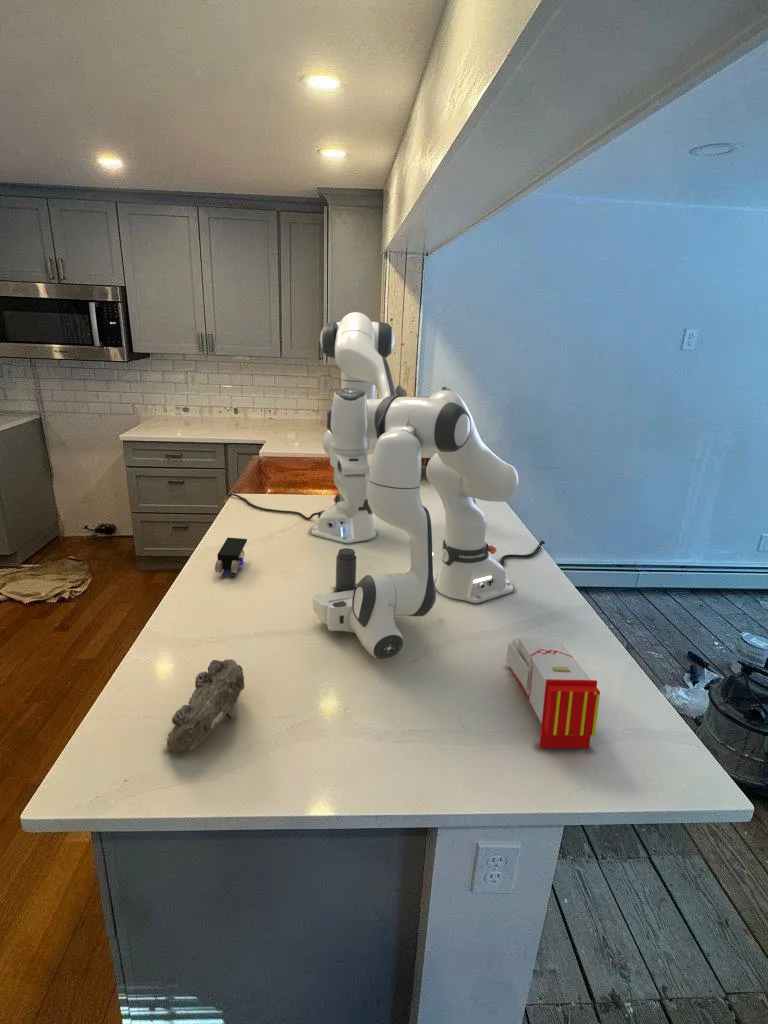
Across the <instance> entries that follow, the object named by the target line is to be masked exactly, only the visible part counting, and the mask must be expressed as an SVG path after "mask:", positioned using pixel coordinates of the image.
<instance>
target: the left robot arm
mask: <svg viewBox="0 0 768 1024" xmlns="http://www.w3.org/2000/svg"><path fill="white" fill-rule="evenodd" d="M395 340H396V339H395V334H394V330H393V328H392V326H391V325H390V323H388V322H384V321H378V322H377V321H371V319H370V318H369V316H367V315H366V314H364V313H362V312H360V311H359V312H357V311H353V312H350V313H347V314H346V315H345V316H343V317H342V319H341V320H340V321H335V320H333V321H330V322H326V324H324V325H323V326H322V330H321V332H320V335H319V343H320V347H321V349H322V353H323V354H324V355H325V356H326V357H328V358H332V359H335V363H336V365H337V368H339V369H340V370H341V372H340V389H337V390H335V392H334V394H333V398H332V402H331V403H330V404H329V405H328V406H327V408H326V414H327V415H326V417H327V418H326V429H327V430H326V431H325V432H324V435H323V437H322V447H323V450H324V452H325V454H326V455H327V456H328V457H329V465H330V466H331V467H333V483H334V485H335V487H336V488H337V490H338V492H337V494H336V495H335V496H334V497H333V502H334V504H333V505H331V506H329V507H328V508H326V509H323V510H321V511H317V512H313V513H311V515H310V516H309V517H308V516H307V517H306V516H305V515H304V514H303V513H302V512H299V511H294V510H283V509H281V510H280V509H273V508H266V507H262V506H258V505H256V504H253V503H251V502H250V501H248V499H246V498H245V497H242V495H240V494H239V495H238V494H237V493H229V494H228V495H227V496H226V497H227V498H230V497H233V496H234V497H236V498H239V499H240V500H242V501H244V502H245V503H246V504H247V505H249V506H251V507H253V508H255V509H258V510H262V511H267V512H273V513H282V514H283V513H285V514H295V515H299V516H301V518H303V519H304V520H307V521H308V520H309V521H310V520H311V519H312V518H313V517H314V516H317V519H318V521H317V523H315V524H314V525H313V526H312V528H311V530H310V533H311V536H315V537H319V538H323V539H326V540H330V541H336V542H339V543H343V544H352V543H357V542H365V541H368V540H372V539H373V538H375V537H376V535H377V532H376V528H375V523H374V513H373V512H372V510H371V509H370V507H369V504H368V499H367V490H368V481H369V472H370V465H369V460H368V456H370V455H373V453H374V450H375V446H376V443H377V440H378V435H377V432H376V429H375V423H374V418H375V412H376V409H377V407H378V405H379V404H380V403H381V402H382V400H383V399H384V398H386V397H389V396H395V395H396V392H395V390H396V388H395V384H394V380H393V379H394V378H393V375H392V372H391V368H390V365H389V362H388V360H387V358H388V357H389V356H390V355H391V354H392V352H393V349H394V347H395V342H396V341H395ZM376 388H377V390H376ZM377 392H378V398H377V395H376V394H377ZM340 501H345V502H346V504H347V509H346V515H341V514H338V513H337V512H336V504H337V503H338V502H340ZM356 507H358V513H357V514H355V515H354V511H355V508H356Z"/></svg>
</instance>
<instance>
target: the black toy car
mask: <svg viewBox="0 0 768 1024" xmlns="http://www.w3.org/2000/svg"><path fill="white" fill-rule="evenodd" d="M247 542H248V538H240V537H226V539H225V541H224V543H223V544H222V546H221V547H220V549H219V551H218V552H217V560H216V562H215V564H214V572H215V573H221V577H222V578H224V577H225V576H226V574H227V573H230V574H231V573H232V574H231V578H234V577H235V575H236V573H237V572H239V571H240V567H242V566H243V565H244V564H245V562H244V558H245V551H244V547H245V546H246V544H247Z"/></svg>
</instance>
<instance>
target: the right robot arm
mask: <svg viewBox="0 0 768 1024" xmlns="http://www.w3.org/2000/svg"><path fill="white" fill-rule="evenodd" d="M421 397H422V396H418V397H417V396H415V397H404V396H401V395H395V396H389V397H386V398H384V399H383V400H382V402H381V403H380V404H379V405H378V407H377V409H376V412H375V418H374V423H375V429H376V432H377V435H378V440H377V443H376V446H375V450H374V453H373V454H372V458H371V462H370V466H369V470H370V472H369V481H368V490H367V499H368V504H369V507H370V509H371V510H372V512H373V515H375V517H377V518H378V519H379V520H381V521H383V522H384V523H386V524H388V525H390V526H392V527H395V528H396V529H397V528H398V529H400V530H403V531H405V532H406V533H407V535H408V537H409V551H410V552H409V553H410V568H409V570H408V571H407V572H404V573H378V574H366V575H364V576H363V577H362V578H361V579H360V581H359V582H358V583H356V587H355V590H350V591H343V592H337V588H336V586H333V587H331V586H330V587H329V593H325V594H319V595H318V594H317V595H315V596H314V597H313V599H312V608H313V612H314V613H315V615H316V616H317V617H318V619H319V620H320V621H321V622H323V623H324V624H326V626H327V629H328V630H329V631H330V632H334V631H335V632H348V633H354V634H355V635H356V637H357V640H358V641H359V643H360V644H361V645H362V647H363V648H364V649H365V651H367V653H368V654H369V655H371V656H372V657H373V658H376V659H378V660H386V659H390V658H392V657H395V656H396V655H397V654H399V652H400V651H402V649H403V647H404V637H403V635H402V633H401V631H400V629H399V628H398V626H397V624H396V622H395V621H396V620H395V618H396V617H424V616H426V615H427V614H428V613H429V612H430V611H431V610H432V608H433V607H434V605H435V603H436V599H437V592H438V593H440V594H441V595H443V596H445V597H448V598H449V599H455V600H461V601H465V602H468V603H472V604H480V603H482V602H486V601H489V600H492V599H494V598H498V597H501V596H504V595H507V594H510V593H512V592H513V593H514V586H513V584H512V583H511V581H510V580H509V579H508V578H507V574H506V570H505V567H504V563H505V559H509V558H519V559H523V558H525V559H526V558H527V559H528V558H532V557H534V556H535V555H536V554H537V553H538V551H540V549H541V547H542V546H543V545H545V544H546V542H545V541H544V540H540V541H539V543H538V545H537V547H536V548H535V549H534V551H532V552H530V553H528V554H515V553H513V554H510V553H509V554H505V555H502V557H500V561H498V560H496V559H495V558H494V557H492V556H491V555H495V554H496V552H497V547H495V546H494V545H492V544H491V545H490V544H489V543H488V542H486V533H487V524H488V520H487V517H486V514H485V513H484V512H483V511H482V510H481V509H480V508H479V507H478V506H477V504H476V505H475V504H474V502H473V500H472V498H474V499H475V500H481V501H485V502H494V503H506V502H507V501H509V500H511V499H512V498H513V496H514V495H515V494H516V493H517V490H518V488H519V475H518V472H517V469H516V468H515V467H514V466H512V465H511V464H509V463H508V462H506V461H504V460H503V459H501V458H500V457H499V456H497V455H496V454H495V453H494V452H493V451H492V450H491V449H490V448H489V447H488V446H487V445H486V444H485V443H484V442H483V440H482V439H481V436H480V435H479V432H478V429H477V426H476V423H475V422H474V418H473V416H472V414H471V412H470V410H469V408H468V406H467V405H466V403H465V402H464V400H463V399H462V398H461V396H460V395H459V394H458V393H457V392H455V391H454V392H453V390H451V391H449V390H442V389H441V390H438V391H435V392H434V393H433V394H431V395H430V396H428V397H429V398H425V397H426V396H423V397H424V398H421ZM421 449H428V450H436V451H437V453H435V454H434V455H433V456H432V457H431V458H430V460H429V462H428V464H427V466H426V470H425V474H426V478H427V481H428V483H429V484H430V486H432V487H433V488H434V490H435V491H436V492H437V495H438V496H439V498H440V500H441V503H442V506H443V509H444V514H445V515H444V516H445V530H444V535H445V536H444V539H443V541H442V546H441V547H442V548H441V563H440V564H441V565H440V569H439V573H438V576H437V579H436V581H435V578H434V562H433V557H434V552H433V530H432V520H431V519H432V518H431V513H430V512H429V510H428V508H427V507H426V506H424V505H423V503H422V500H421V494H420V489H421V482H422V481H421V479H422V466H421V451H422V450H421ZM539 545H540V546H539ZM489 553H490V554H491V555H490V554H489ZM436 591H437V592H436Z"/></svg>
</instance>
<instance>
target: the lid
mask: <svg viewBox="0 0 768 1024" xmlns="http://www.w3.org/2000/svg"><path fill="white" fill-rule="evenodd" d="M346 509H347V504H346V502H345V501H340V502H338V503H337V504H336V512H337V513H338V514H341V515H346ZM357 513H358V507H356V508H355V511H354V515H355V514H357Z"/></svg>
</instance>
